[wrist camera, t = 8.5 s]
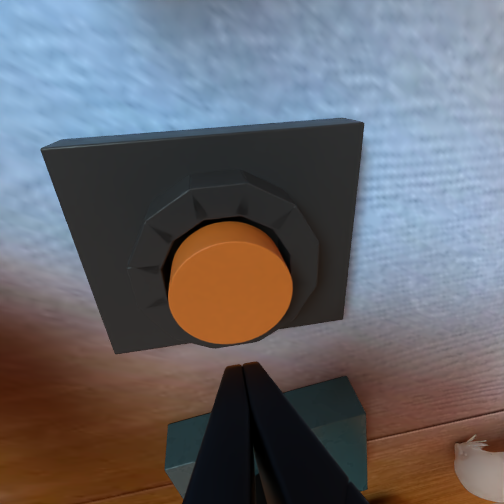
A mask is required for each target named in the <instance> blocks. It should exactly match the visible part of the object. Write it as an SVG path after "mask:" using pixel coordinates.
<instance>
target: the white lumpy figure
mask: <svg viewBox="0 0 504 504" xmlns="http://www.w3.org/2000/svg"><path fill="white" fill-rule="evenodd" d="M476 435H477V434H475V435H474V436H473V437H471V438H470V439H469V440H468V441H467V442H463V443H461V444H459V443H456V444H455V446H454V447H455V461H454V468H455V473H456V474H457V476H458V478H459V480H460V482H461V483H462V485H463V486H464V487H465V488H466V489H467V490H468V491H469V492H470V493H472V494H474V495H476V496H478V497H480V498H483V499H486V500H490V501H494V502H502V503H503V502H504V452H488V451H484V449H483V450H481V449H480V448H482V446H488V445H484V444H483V443H480V442H484V441H474V442H470V441H472V440H473V438H474V437H475V436H476ZM474 439H476V438H474ZM485 441H486V440H485ZM477 446H478V447H477ZM479 446H481V447H479ZM483 448H484V447H483Z"/></svg>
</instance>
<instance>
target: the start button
mask: <svg viewBox="0 0 504 504" xmlns="http://www.w3.org/2000/svg"><path fill="white" fill-rule="evenodd" d="M292 292H293V283H292V278H291V275H290V272H289V270H288V268H287V266H286V264H285V262H284V260H283V258H282V256H281V254H280V252H279V250H278V248H277V246H276V244H275V243H274V241H273V240H272V239H271V238H270V237H269V236H268V235H267V234H266V233H265V232H263V231H262V230H260V229H258V228H256V227H254V226H252V225H249V224H246V223H241V222H233V221H228V222H218V223H214V224H210V225H207V226H205V227H203V228H200V229H199V230H197V231H195V232H194V233H192V234H191V235H190V236H188V237H187V238H186V239H185V240H184V241H183V242H182V244H181V245H180V247H179V248H178V250H177V252H176V253H175V256H174V259H173V262H172V267H171V275H170V283H169V291H168V302H169V307H170V310H171V313H172V315H173V317H174V319H175V320H176V322H177V323H178V324H179V325H180V327H181V328H182V329H183V330H185V331H186V332H187V333H189V334H190V335H192V336H194V337H195V338H198V339H200V340H203V341H206V342H210V343H215V344H236V343H241V342H245V341H249V340H252V339H254V338H257V337H259V336H261V335H263V334H264V333H266V332H267V331H269V330H270V329H272V328H273V327H274V326H275V325H276V324H277V323H278V322H279V321H280V320H281V319H282V317H283V316H284V315H285V313H286V311H287V309H288V307H289V305H290V302H291V298H292Z"/></svg>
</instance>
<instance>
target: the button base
mask: <svg viewBox="0 0 504 504" xmlns="http://www.w3.org/2000/svg"><path fill="white" fill-rule="evenodd" d="M363 132H364V123H363V122H359V121H355V120H351V119H346V118H334V119H321V120H308V121H295V122H283V123H270V124H257V125H244V126H231V127H218V128H205V129H192V130H179V131H166V132H153V133H140V134H127V135H114V136H101V137H89V138H76V139H63V140H59V141H57V142H55V143H52V144H50V145H47V146H45V147H43V148H41V153H42V155H43V158H44V161H45V164H46V166H47V169H48V172H49V175H50V177H51V180H52V183H53V186H54V188H55V191H56V194H57V197H58V199H59V202H60V205H61V208H62V210H63V213H64V216H65V219H66V221H67V224H68V227H69V229H70V232H71V235H72V238H73V240H74V243H75V246H76V249H77V251H78V254H79V257H80V260H81V262H82V265H83V268H84V271H85V273H86V276H87V279H88V282H89V284H90V287H91V290H92V293H93V295H94V298H95V301H96V303H97V306H98V309H99V312H100V314H101V317H102V320H103V323H104V325H105V328H106V331H107V334H108V336H109V339H110V342H111V345H112V347H113V350H114V353H115V354H122V353H128V352H135V351H141V350H148V349H154V348H161V347H167V346H174V345H180V344H186V343H193V344H197V345H201V346H205V347H209V348H221V347H228V346H234V345H240V344H247V343H253V342H257V341H260V340H261V339H263V338H265V337H266V336H268V335H270V334H271V333H273V332H275V331H276V330H278V329H284V328H290V327H297V326H303V325H310V324H316V323H323V322H329V321H336V320H342V319H343V313H344V304H345V295H346V286H347V277H348V268H349V259H350V250H351V241H352V231H353V222H354V213H355V204H356V195H357V186H358V177H359V168H360V159H361V150H362V141H363ZM228 221H233V222H241V223H246V224H249V225H252V226H254V227H256V228H258V229H260V230H262V231H263V232H265V233H266V234H267V235H268V236H269V237H270V238H271V239H272V240H273V241H274V243H275V244H276V246H277V248H278V250H279V252H280V254H281V256H282V258H283V260H284V262H285V264H286V266H287V268H288V270H289V272H290V275H291V278H292V283H293V292H292V298H291V302H290V305H289V307H288V309H287V311H286V313H285V315H284V316H283V317H282V319H281V320H280V321H279V322H278V323H277V324H276V325H275V326H274V327H273V328H272V329H270V330H269V331H267V332H266V333H264V334H263V335H261V336H259V337H257V338H254V339H252V340H249V341H245V342H241V343H236V344H215V343H210V342H206V341H203V340H200V339H198V338H195V337H194V336H192V335H190V334H189V333H187V332H186V331H185V330H183V329H182V328H181V327H180V325H179V324H178V323H177V322H176V320H175V319H174V317H173V315H172V313H171V310H170V307H169V302H168V291H169V283H170V275H171V267H172V262H173V259H174V256H175V253H176V252H177V250H178V248H179V247H180V245H181V244H182V242H183V241H184V240H185V239H186V238H187V237H188V236H190V235H191V234H192V233H194V232H195V231H197V230H199V229H200V228H203V227H205V226H207V225H210V224H214V223H218V222H228Z"/></svg>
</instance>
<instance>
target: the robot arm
mask: <svg viewBox="0 0 504 504" xmlns="http://www.w3.org/2000/svg"><path fill="white" fill-rule="evenodd" d="M253 448H254V450H253ZM254 454H255V459H256V463H257V467H258V471H259V475H260V478H261V482H262V486H263V490H264V493H265V497H266V501H267V504H369V502H368V501H367V500H366V499H365V498H364V496H363V495H362V494H361V492H360V491H359V490H358V489H357V487H356V486H355V485H354V483H353V482H352V481H350V482H349V477H348V476H347V475H346V474H345V472H344V471H343V470H342V468H341V467H340V466H339V465H338V463H337V462H336V461H335V459H334V458H333V457H332V456H331V454H330V453H329V452H328V450H327V449H326V448H325V447H324V445H323V444H322V443H321V442H320V440H319V439H318V438H317V436H316V435H315V434H314V433H313V431H312V430H311V429H310V427H309V426H308V425H307V424H306V422H305V421H304V420H303V418H302V417H301V416H300V415H299V413H298V412H297V411H296V410H295V408H294V407H293V406H292V404H291V403H290V402H289V401H288V399H287V398H286V397H285V395H284V394H283V393H282V392H281V390H280V389H279V388H278V386H277V385H276V384H275V383H274V381H273V380H272V379H271V378H270V376H269V375H268V374H267V372H266V371H265V370H264V369H263V367H262V366H261V365H260V364H259V363H258V362H250V363H245V364H243V366H241V365H240V364H238V365H232V366H227V367H226V369H225V371H224V374H223V377H222V380H221V383H220V387H219V390H218V393H217V396H216V399H215V402H214V405H213V409H212V412H211V415H210V418H209V421H208V424H207V427H206V431H205V434H204V437H203V440H202V443H201V446H200V449H199V453H198V456H197V459H196V462H195V465H194V468H193V471H192V475H191V478H190V481H189V484H188V487H187V490H186V493H185V497H184V500H183V503H182V504H256V486H255V464H254Z"/></svg>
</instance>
